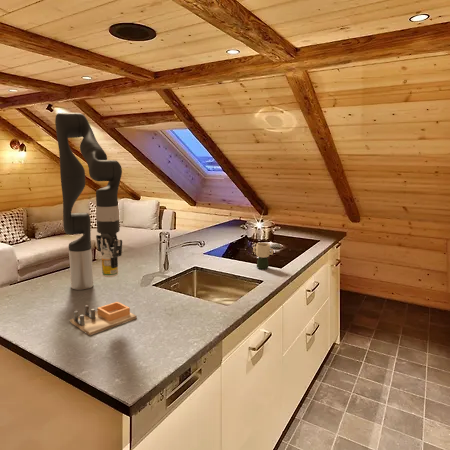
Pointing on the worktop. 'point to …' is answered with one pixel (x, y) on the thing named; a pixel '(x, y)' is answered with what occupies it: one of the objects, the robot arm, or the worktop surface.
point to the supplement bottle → (108, 265)
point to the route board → (101, 322)
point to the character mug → (262, 254)
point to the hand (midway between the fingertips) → (110, 265)
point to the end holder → (121, 312)
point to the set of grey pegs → (81, 321)
